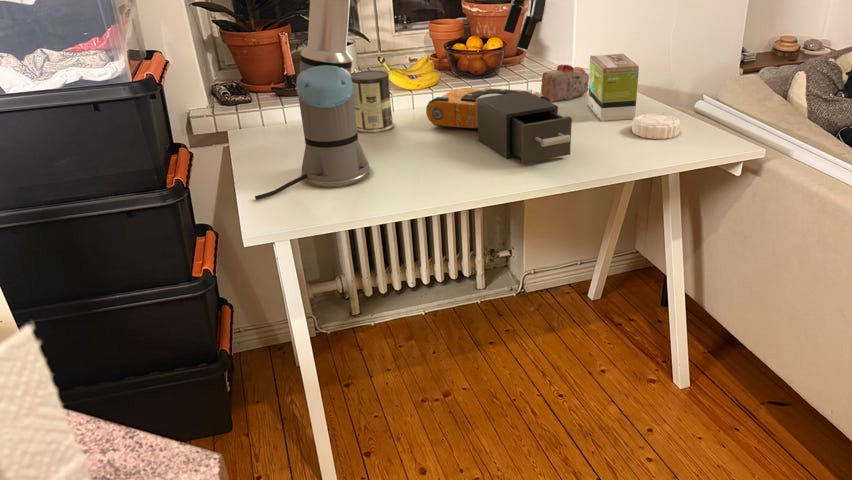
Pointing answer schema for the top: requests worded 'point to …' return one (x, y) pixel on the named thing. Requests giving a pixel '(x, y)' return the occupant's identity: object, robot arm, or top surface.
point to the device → (462, 106)
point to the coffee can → (372, 100)
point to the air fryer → (506, 117)
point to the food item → (564, 83)
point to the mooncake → (656, 126)
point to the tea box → (613, 87)
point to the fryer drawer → (540, 136)
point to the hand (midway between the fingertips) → (514, 39)
